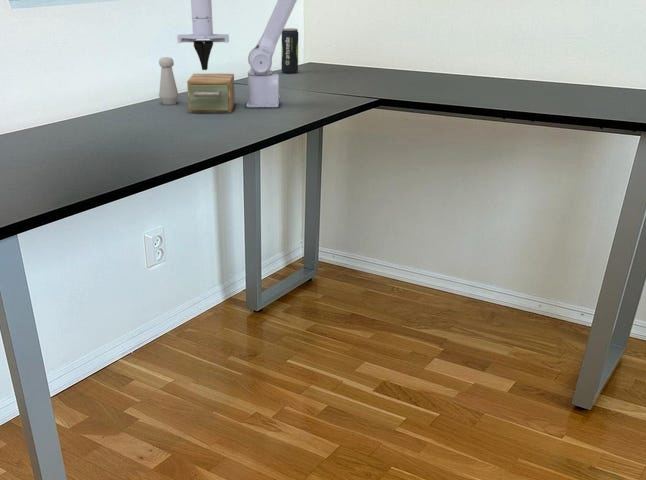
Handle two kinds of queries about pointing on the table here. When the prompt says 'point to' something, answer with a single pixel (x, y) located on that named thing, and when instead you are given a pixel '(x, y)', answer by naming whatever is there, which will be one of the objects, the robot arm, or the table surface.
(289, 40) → the beverage can
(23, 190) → the table surface
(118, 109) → the table surface
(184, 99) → the table surface
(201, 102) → the drawer
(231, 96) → the tan wooden box
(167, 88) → the salt shaker
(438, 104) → the table surface
